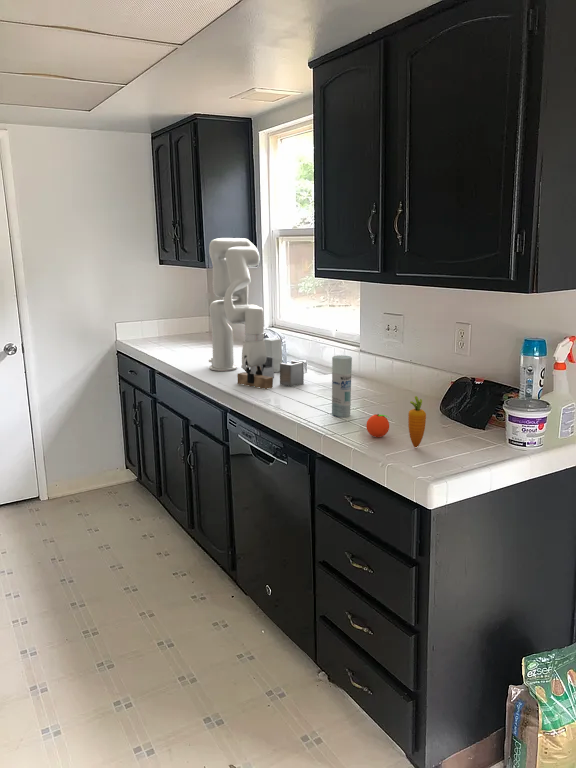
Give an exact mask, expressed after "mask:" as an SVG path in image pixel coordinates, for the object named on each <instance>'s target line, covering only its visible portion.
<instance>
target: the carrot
mask: <svg viewBox="0 0 576 768" xmlns="http://www.w3.org/2000/svg"><path fill="white" fill-rule="evenodd" d="M414 400H415V402H414V401H413V400H412V401H410V402H409V403H410V404H412V406H413V408H412V409H409V411H408V416H407V417H408V422H407V423H408V426H407V427H408V434H409V438H410V442H411V443H412V445H413V447H414V448H415V447H417V446H418V447H419V446H420V444H421V442H422V440H423V438H424V433H425V429H426V422H427V421H426V420H427V413H426V411H425V410H424V409H421V407H422V404H423V399H422V398H420V399H419V398H418V395H417V396H414ZM418 447H417V448H418Z"/></svg>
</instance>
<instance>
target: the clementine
mask: <svg viewBox="0 0 576 768" xmlns="http://www.w3.org/2000/svg"><path fill="white" fill-rule="evenodd" d="M388 418H389V419H388ZM390 419H391V417H389V416H388V415H385V414H379V413H377V414H376V413H375V414H373V415H371V416H370V417H369V418H368V419H367V421H366V425H365V427H366V431H367V432H368V434H369V435H370V436H372V437H374V438H383V437H384V436H386V435H387V434H388V432H389V431H390V421H389V420H390ZM391 420H392V419H391Z"/></svg>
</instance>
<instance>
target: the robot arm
mask: <svg viewBox="0 0 576 768" xmlns="http://www.w3.org/2000/svg"><path fill="white" fill-rule="evenodd" d="M208 250H209V252H208V253H209V256H210V260H211V263H212V292H213V294H214V296H215V297H218V298H223V299H219V300H217V299H216V300H214V301H212V302H211V303H210V305H209V309H208V311H209V316H210V317H209V318H210V322H211V337H212V340H211V341H212V342H211V343H212V357H211V358H210V359H208V363H211V365H209V369H210V370H212V371H214V372H215V371H216V372H229V371H234V370H237V369H238V365H236V364H234V362H235V361H234V330H233V328H232V326H231V325H230V324H234V325H236V324H237V325H239V324H244V341H243V344H242V348H241V369H242V370H244V372H246V373H247V382H248V383H252V384H253V383H254V374H252V373H253V367H254V366H256V368H257V371H256V374H257V375H262V372H263V371H264V370H263V369H264V368H265V366H266V365H267V363H268V362H267V360H266V347H265V341H264V339H265V338H264V337H265V333H264V331H265V329H264V326H265V325H264V308H263V307H260V306H259V305H256V304H249V285H250V284H251V281H252V280H251V276H250V270H249V268H252V267H257V266H258V265H259V264H260V259H261V258H260V253H259V250H258V248H257V246H256V245H254V243H253V242H251V241H250V240H249V239H248V238H244V237H243V238H242V237H241V238H240V237H235V238H233V237H220V238H218V237H217V238H215V239H212V240H211V241H210V243H209V248H208ZM233 298H236V299H233ZM229 323H230V324H229ZM259 366H260V367H259Z"/></svg>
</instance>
